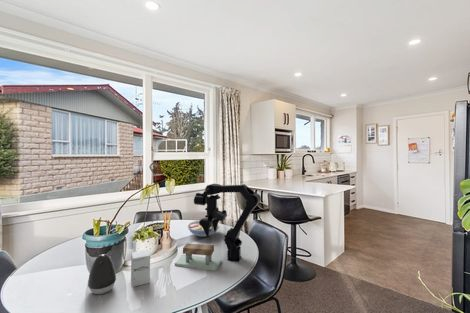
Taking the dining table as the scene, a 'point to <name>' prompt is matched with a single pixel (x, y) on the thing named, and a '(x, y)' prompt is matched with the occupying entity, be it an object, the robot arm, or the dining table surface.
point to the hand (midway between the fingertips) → (211, 233)
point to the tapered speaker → (102, 275)
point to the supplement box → (140, 268)
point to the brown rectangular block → (198, 249)
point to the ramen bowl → (200, 229)
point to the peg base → (198, 262)
